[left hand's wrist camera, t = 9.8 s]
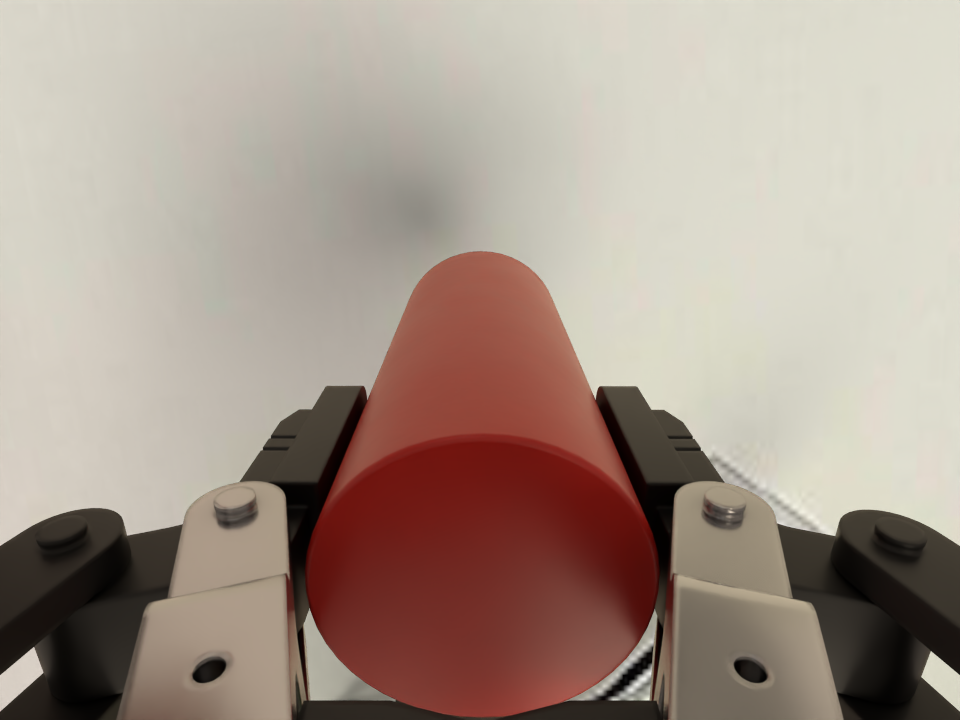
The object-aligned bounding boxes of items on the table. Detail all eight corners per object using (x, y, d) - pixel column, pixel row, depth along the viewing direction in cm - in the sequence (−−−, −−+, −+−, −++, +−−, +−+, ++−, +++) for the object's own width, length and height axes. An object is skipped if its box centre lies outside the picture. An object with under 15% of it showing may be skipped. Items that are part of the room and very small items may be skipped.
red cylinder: (496, 218, 17) (522, 361, 6) (585, 339, 18) (727, 620, 8) (373, 312, 18) (226, 567, 7) (467, 420, 19) (453, 764, 9)
